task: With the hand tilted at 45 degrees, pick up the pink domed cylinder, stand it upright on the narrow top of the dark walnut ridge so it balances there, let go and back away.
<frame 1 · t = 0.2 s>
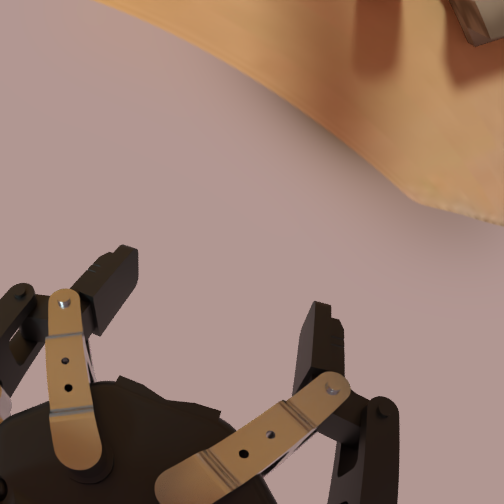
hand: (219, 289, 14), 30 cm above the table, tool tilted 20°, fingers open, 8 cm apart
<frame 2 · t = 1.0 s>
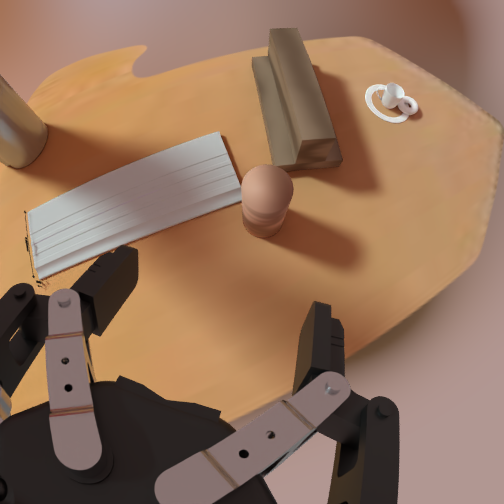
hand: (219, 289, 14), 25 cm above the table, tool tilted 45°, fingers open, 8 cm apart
baseboard molding: (125, 212, 41), on the table
teacup and saucer: (396, 120, 45), on the table
pink domed cylinder: (262, 218, 40), on the table
ridge: (292, 109, 44), on the table
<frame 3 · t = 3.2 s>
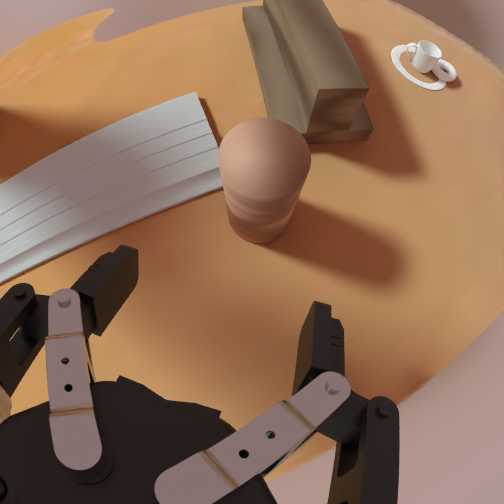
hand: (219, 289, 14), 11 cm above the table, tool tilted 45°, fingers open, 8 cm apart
baseboard molding: (68, 207, 28), on the table
teacup and saucer: (432, 87, 31), on the table
pink domed cylinder: (259, 213, 27), on the table
ridge: (298, 67, 30), on the table
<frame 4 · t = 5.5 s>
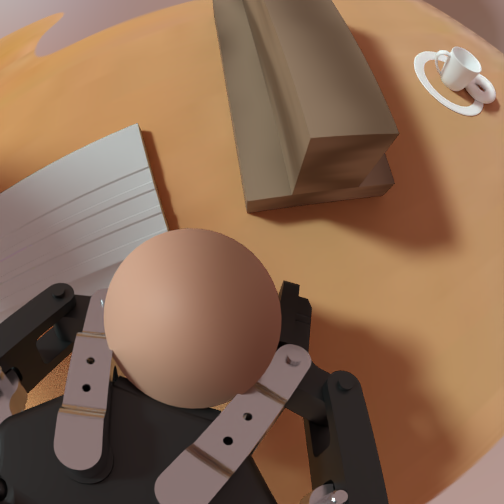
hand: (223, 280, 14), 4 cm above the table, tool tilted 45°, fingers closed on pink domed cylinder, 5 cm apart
teacup and saucer: (465, 111, 23), on the table
pink domed cylinder: (220, 319, 18), on the table, touching gripper
ridge: (286, 81, 22), on the table
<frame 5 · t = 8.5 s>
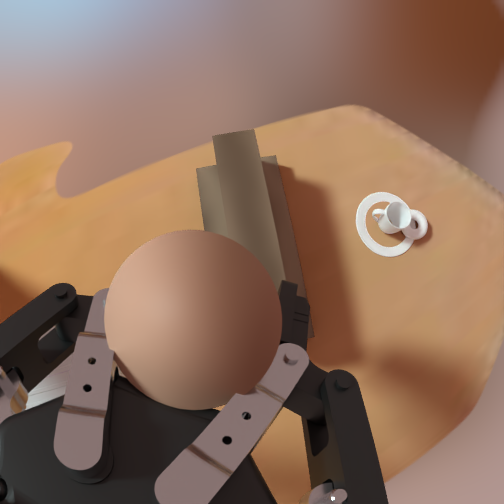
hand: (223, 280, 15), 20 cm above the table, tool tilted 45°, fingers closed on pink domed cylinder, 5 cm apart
baseboard molding: (67, 375, 33), on the table
teacup and saucer: (396, 248, 36), on the table
pink domed cylinder: (220, 320, 18), point 16 cm above the table, touching gripper
ridge: (251, 252, 35), on the table
when the fingers open (13 cm above the table, at t = 11.1 s): pink domed cylinder stays where it is, resting on ridge.
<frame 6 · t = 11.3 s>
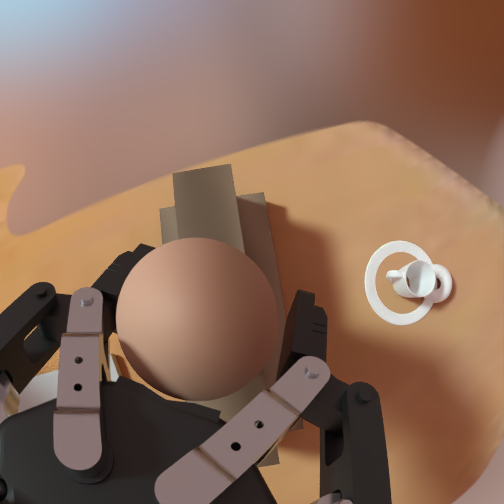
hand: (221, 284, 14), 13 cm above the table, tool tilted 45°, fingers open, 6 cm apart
baseboard molding: (28, 433, 25), on the table
teacup and saucer: (411, 312, 28), on the table
pink domed cylinder: (220, 320, 19), point 8 cm above the table, touching ridge
ridge: (229, 319, 27), on the table
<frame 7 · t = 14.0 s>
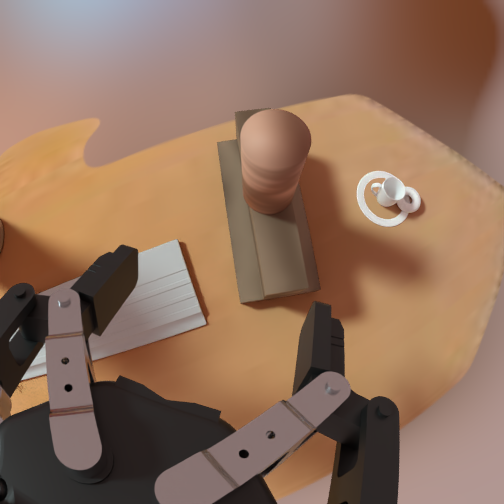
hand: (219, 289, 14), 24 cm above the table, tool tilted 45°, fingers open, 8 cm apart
baseboard molding: (86, 326, 37), on the table
teacup and saucer: (392, 220, 40), on the table
pink domed cylinder: (268, 190, 32), point 8 cm above the table, touching ridge
ridge: (265, 215, 39), on the table
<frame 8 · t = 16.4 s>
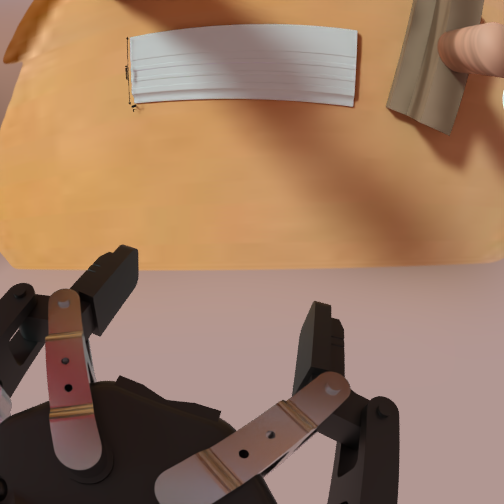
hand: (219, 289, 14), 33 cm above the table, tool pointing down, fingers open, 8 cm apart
baseboard molding: (237, 66, 38), on the table
pink domed cylinder: (457, 51, 24), point 8 cm above the table, touching ridge
ridge: (434, 53, 31), on the table
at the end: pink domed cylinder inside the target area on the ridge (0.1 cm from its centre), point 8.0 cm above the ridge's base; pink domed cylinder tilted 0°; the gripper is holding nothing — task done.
